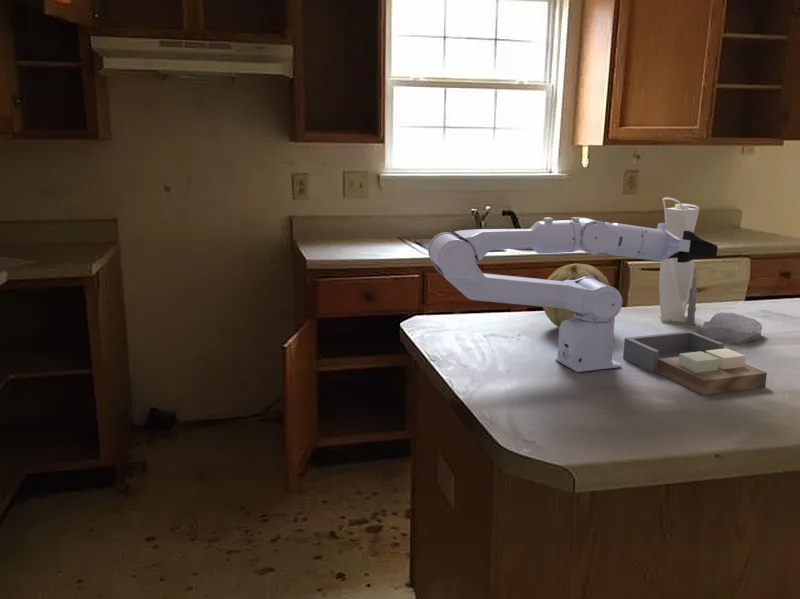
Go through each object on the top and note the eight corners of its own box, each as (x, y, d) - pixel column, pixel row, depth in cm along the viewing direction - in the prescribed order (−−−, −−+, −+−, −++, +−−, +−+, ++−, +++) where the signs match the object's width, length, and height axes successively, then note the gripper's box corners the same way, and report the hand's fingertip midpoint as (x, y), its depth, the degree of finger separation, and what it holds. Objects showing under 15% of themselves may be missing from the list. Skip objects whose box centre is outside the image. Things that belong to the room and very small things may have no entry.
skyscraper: (655, 324, 162) (665, 198, 156) (651, 315, 170) (660, 195, 163) (695, 326, 160) (707, 199, 154) (689, 317, 168) (700, 196, 161)
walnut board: (703, 395, 118) (705, 380, 118) (657, 372, 129) (658, 359, 129) (765, 386, 122) (766, 372, 121) (715, 365, 133) (716, 352, 132)
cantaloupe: (606, 323, 162) (611, 257, 159) (613, 341, 148) (618, 269, 145) (539, 320, 165) (542, 255, 161) (540, 338, 151) (543, 267, 147)
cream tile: (722, 369, 123) (723, 358, 123) (704, 361, 127) (705, 350, 127) (744, 366, 124) (745, 355, 124) (725, 359, 128) (726, 348, 128)
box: (652, 372, 129) (654, 351, 128) (623, 358, 137) (624, 337, 136) (721, 364, 133) (723, 343, 132) (689, 350, 142) (690, 331, 141)
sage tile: (695, 372, 121) (696, 361, 121) (678, 364, 126) (679, 353, 125) (717, 370, 123) (719, 358, 122) (699, 362, 127) (700, 351, 126)
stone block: (761, 342, 153) (714, 326, 159) (768, 322, 152) (720, 306, 157) (745, 358, 145) (696, 340, 150) (753, 336, 143) (702, 319, 148)
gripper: (659, 218, 123) (731, 228, 125) (619, 221, 137) (684, 230, 139) (653, 259, 123) (725, 269, 125) (614, 258, 137) (679, 267, 140)
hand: (703, 251), depth 132 cm, fingers open, 7 cm apart
